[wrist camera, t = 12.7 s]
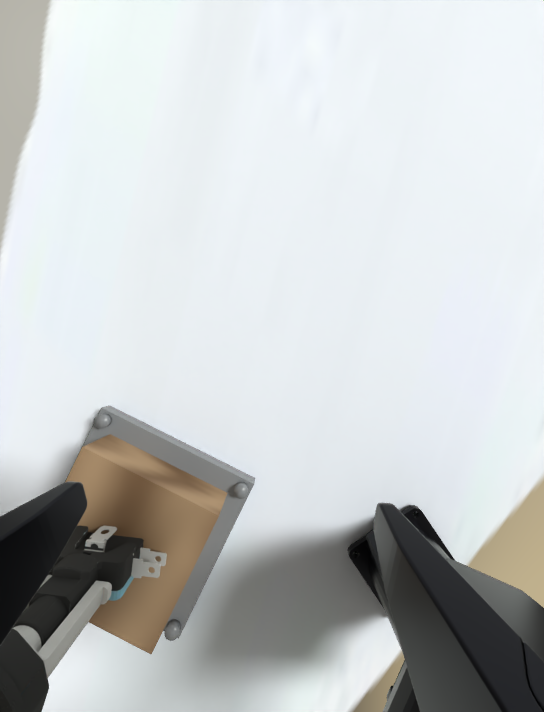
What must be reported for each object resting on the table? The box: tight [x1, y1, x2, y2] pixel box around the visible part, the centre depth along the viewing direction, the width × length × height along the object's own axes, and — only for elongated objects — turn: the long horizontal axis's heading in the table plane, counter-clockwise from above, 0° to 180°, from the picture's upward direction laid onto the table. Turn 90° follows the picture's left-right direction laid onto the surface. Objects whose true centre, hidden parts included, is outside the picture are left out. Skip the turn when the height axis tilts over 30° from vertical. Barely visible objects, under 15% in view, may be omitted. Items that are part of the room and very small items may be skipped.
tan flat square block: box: [65, 434, 227, 654], centre depth 19 cm, size 10×10×3 cm
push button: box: [0, 526, 167, 712], centre depth 13 cm, size 7×5×10 cm
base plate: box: [83, 406, 255, 641], centre depth 21 cm, size 13×13×2 cm
